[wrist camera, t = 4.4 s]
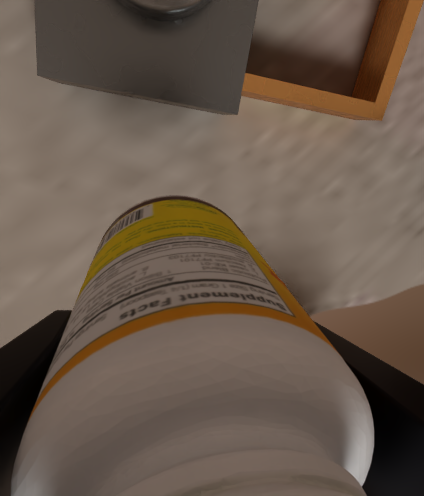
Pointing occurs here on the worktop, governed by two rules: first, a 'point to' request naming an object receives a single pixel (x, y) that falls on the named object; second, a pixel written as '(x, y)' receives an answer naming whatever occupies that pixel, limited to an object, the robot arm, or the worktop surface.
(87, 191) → the worktop surface
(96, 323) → the supplement bottle
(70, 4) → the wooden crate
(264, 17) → the worktop surface
